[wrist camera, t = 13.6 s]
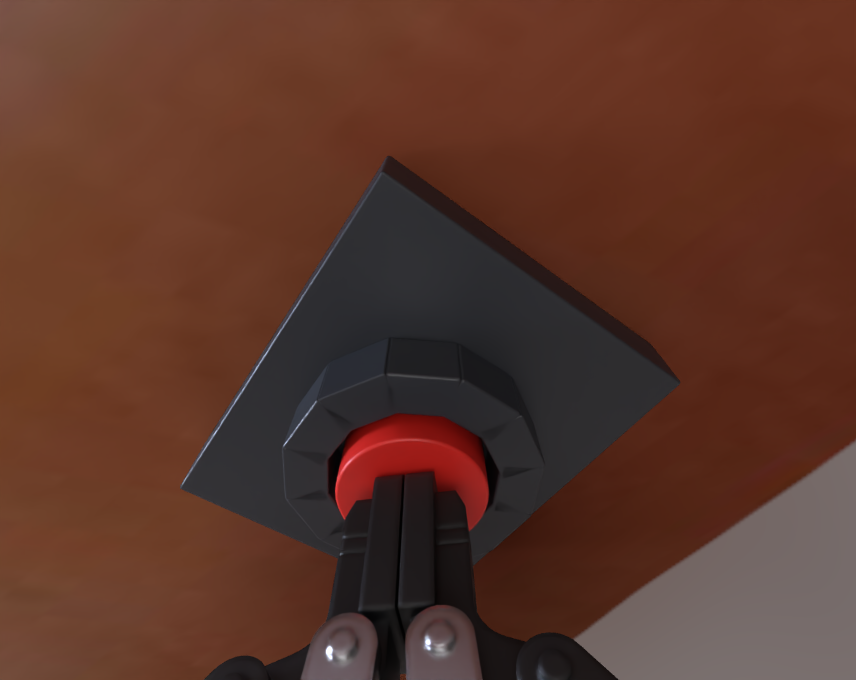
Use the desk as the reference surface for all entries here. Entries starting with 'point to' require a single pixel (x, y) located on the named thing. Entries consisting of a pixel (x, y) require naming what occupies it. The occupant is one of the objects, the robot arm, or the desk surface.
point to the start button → (414, 459)
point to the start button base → (426, 369)
